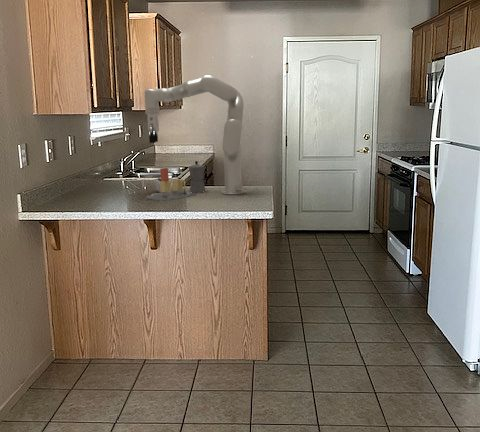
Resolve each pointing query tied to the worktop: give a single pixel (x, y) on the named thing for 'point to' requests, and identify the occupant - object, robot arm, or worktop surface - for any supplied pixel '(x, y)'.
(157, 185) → the grey stapler
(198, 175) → the coffeepot
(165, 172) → the block
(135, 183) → the worktop surface
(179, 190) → the gauge plate
